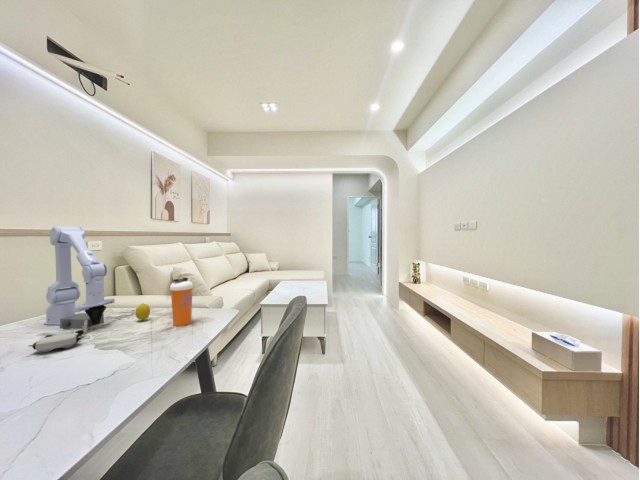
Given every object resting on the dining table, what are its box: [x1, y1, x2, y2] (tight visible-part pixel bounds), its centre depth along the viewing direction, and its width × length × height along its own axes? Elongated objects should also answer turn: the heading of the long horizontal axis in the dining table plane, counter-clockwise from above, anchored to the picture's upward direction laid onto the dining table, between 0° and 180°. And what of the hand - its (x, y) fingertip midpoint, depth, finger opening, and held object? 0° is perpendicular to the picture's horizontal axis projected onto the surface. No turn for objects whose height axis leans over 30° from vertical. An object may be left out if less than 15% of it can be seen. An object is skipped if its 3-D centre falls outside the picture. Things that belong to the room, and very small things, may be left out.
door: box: [81, 319, 89, 335], centre depth 102 cm, size 1×8×4 cm, turn 41°
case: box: [59, 312, 105, 330], centre depth 109 cm, size 12×9×5 cm
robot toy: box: [27, 329, 86, 353], centre depth 89 cm, size 12×4×15 cm
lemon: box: [134, 303, 151, 322], centre depth 115 cm, size 6×6×8 cm
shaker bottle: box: [169, 277, 194, 327], centre depth 110 cm, size 9×9×20 cm
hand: (95, 324), depth 105 cm, fingers closed
